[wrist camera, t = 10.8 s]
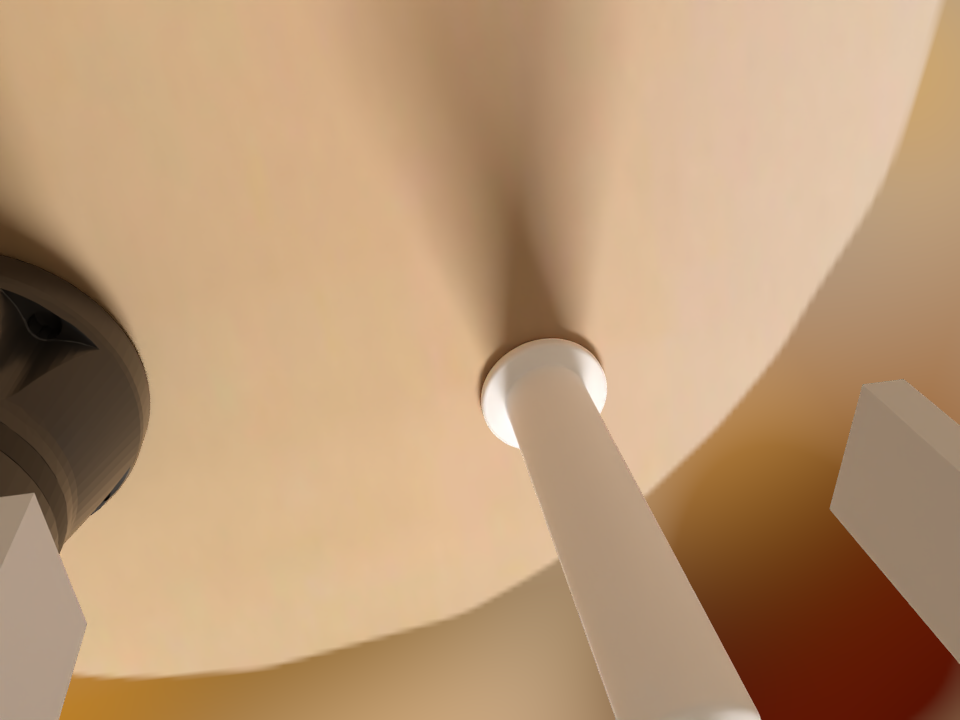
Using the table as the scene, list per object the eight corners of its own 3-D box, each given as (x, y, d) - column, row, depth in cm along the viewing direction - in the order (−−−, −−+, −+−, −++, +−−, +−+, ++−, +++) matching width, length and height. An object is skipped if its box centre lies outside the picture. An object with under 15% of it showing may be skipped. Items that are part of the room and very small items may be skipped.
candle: (482, 340, 42) (647, 797, 21) (611, 333, 43) (888, 761, 22) (477, 447, 46) (613, 932, 25) (596, 439, 47) (823, 894, 26)
